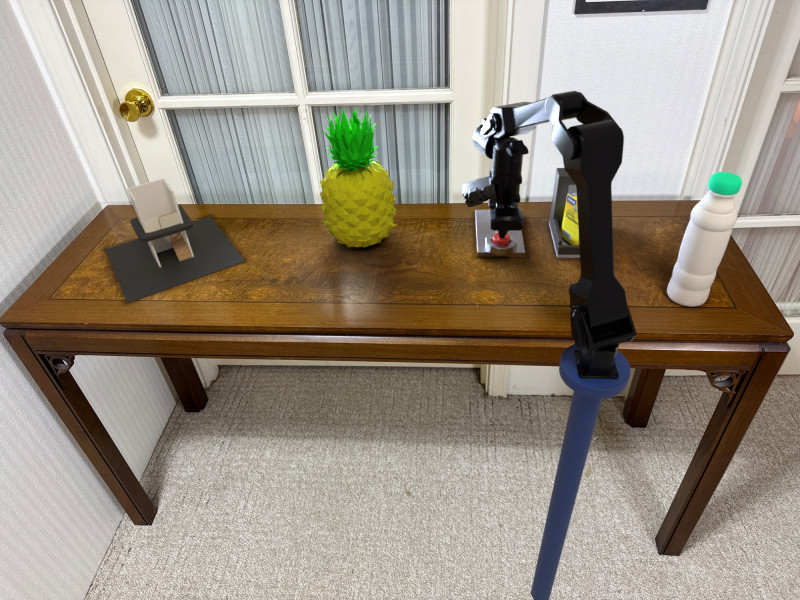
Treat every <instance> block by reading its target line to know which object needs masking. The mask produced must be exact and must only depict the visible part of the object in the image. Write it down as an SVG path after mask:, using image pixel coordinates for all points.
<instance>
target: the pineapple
mask: <svg viewBox="0 0 800 600" xmlns="http://www.w3.org/2000/svg"><path fill="white" fill-rule="evenodd" d="M331 112H332V114H333V116H334V120H333V119H332V118H331V117H330V115H327V117H328V118H329V119H328V118H326V120H327V121H328V124H329V127H328V126H326V125H324V124H323V126H324V127H325V128H326V129H327V131H328V132H326V131H324V130H322V132H323V133H324V136H325V137H326V139H327V140H328V142H329V143H328V146H329V147H328V146H326V149H327V150H328V152H329V153H330V154H329V153H326V152H325V154H326V156H328V157H329V158H331V159H332V160H333V161H330V163H331V164H333V165H332V166H330V167H329V168H328V167H327V169H326V170H325V173H324V177H323V178H322V180H319V185H320V187H321V192H320V193H319V196H320V197H321V200H322V203H320V209H321V210H322V212H323V214H324V216H325V218H324V219H323V220H322V223H323V224H324V225H325V226H326V227H327V228H328V229H329V231H327V233H328V234H329V235H331V236H332V237H334V238H335V239H336V240H335V241H336V242H337V243H339V244H340V245H341V244H342V245H346V247H347V248H354V247H355V248H361V247H362V248H367V247H369V246H371V247H373V246H374V245H375V244H380V243H382V240H383V239H385V238H387V237H389V236H390V233H389V232H390V231H391V229H393V228H394V227H396V226H397V224H396V223H394V217H395V215H396V212H397V209H396V208H395V202H396V201H397V200H396V199H397V197H396V196H395V195H394V194H393V191H394V187H395V182H394V181H393V180H392V179H391V178H390V175H389V171H388V170H387V169H385V168H384V167H383V166H382V164H381V163H380V161H379V160H376V159H375V158H377V157H378V152H376V150H377V149H378V147H379V145H376V146H375V144H374V136H375V131H376V129H377V128H378V127H376V125H377V123H374V124H373V126H372V120H371V116H372V114H370V115H369V117H368V110H366V111H365V112H364V115H363V119H362V121H361V120H360V118H359V115H358V112H357V107H356V106H355V108H354V110H352V111H351V113H352V117H349V118H348V117H347V115H346V113H345V109H344V108H342V109H341V111H338V117H337V115H336V113H335V112H333V111H331ZM375 127H376V128H375Z"/></svg>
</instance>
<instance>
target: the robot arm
mask: <svg viewBox="0 0 800 600" xmlns="http://www.w3.org/2000/svg"><path fill="white" fill-rule="evenodd" d="M572 119H576V121H577V122H578V123H580V124H577V125H572V126H569V127H567V125H565V123H564V122H563V121H567V120H572ZM547 123H550V124H551V125H552V129H551V141H552V143H553V144H554V146H555V148H556V149H557V150H558V152H559V154H560V155H561V156H562V162H563V163H562V164H563V168H564V169H565V171H566V172H567V173H568V175H569V176H570V178H571V179H572V180H573V182H574V183H575V184H576V189H577V209H578V228H579V247H580V258H579V263H580V264H579V265H580V276H579V278H578V280H577V282H574V283H571V284H569V287H568V294H569V305H568V308H569V309H570V310H569V317H570V332H571V338H573V340H574V344H573V345H575V346H576V347H578V348H581V349H575V350H573V355H574V359H575V364H576V368H577V373H578V376H579V378H590V379H618V378H619V374H618V370H617V367H616V364H615V359H616V355H617V351H618V352H619V347H620V344H623V343H627V342H632V341H634V339H636V337H637V335H638V333H637V329H636V326H635V323H634V320H633V317H632V313H631V311H630V307H629V304H628V300H627V292H626V288H624V286H623V284H621V282H620V281H619V279H618V278H617V277H616V274H615V253H614V222H613V220H614V219H613V194H612V193H613V192H612V191H613V189H612V185H613V181H614V180H615V177H616V175H617V173H618V171H619V169H620V167H621V166H622V164H623V156H624V145H625V136H624V131H623V128H621V127H620V125H619V124H618V123H617V122H616V120H615V118H613V117H612V115H611V114H610V112H609V111H607V110H605V109H603V108H602V107H600V106H598V105H596V104H595V103H592V102H591V101H589V100H588V99H587V97H586V96H585V95H584V94H583V93H582V92H581V91H577V90H570V91H565V92H557V93H553V94H552V95H550V96H549V97H546V98H543V99H539V100H536V101H533V102H531V101H519V102H513V103H509V104H502V105H498V106H497V105H496V106H493V107H492V108H491V110H490V114H489V115H488V116H487V117H484V118H482V119H481V124H480V125H478V126H477V128H476V129H475V130H474V132H473V135H472V137H471V138H472V143H473V145H474V147H475V148H477V150H478V151H480V152H481V153H482V154H483V155H484V156H485V157H487V158H488V159H489V160H492V165H491V166H492V167H491V169H490V170H489V174H488V176H485V177H479V178H476V179H473V180H470V181H467V182H465V183H464V184H462V186H461V187H462V188H461V189H462V190H461V191H462V197H463V198H464V203H465V204H466V206H467V207H468V208H472V207H473V208H474V207H476V206H479V205H483V204H484V203H485V202H488V208H489V209H488V210H489V214H490V227H491V229H492V230H494V231H498V234H499V238H504V237H505V236H506V234H507V233H508V231H522V230H524V225H525V219H524V213H523V211H522V210H521V209H520V208H519V204H520V203H521V194H520V192H521V185H522V184H523V176H522V175H523V174H522V171H523V161H524V155H525V156H526V155H528V154H529V152H530V151H529V148H528V147H527V145H526V144H525V143H524V141H523V139H520V140H519V139H518V138H516V136H517V137H518V136H522V135H528V134H529V133H530V132H532V131H534V130H535V129H536V128H537V126H538V125H543V124H547Z"/></svg>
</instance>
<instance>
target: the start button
mask: <svg viewBox="0 0 800 600" xmlns="http://www.w3.org/2000/svg"><path fill="white" fill-rule="evenodd" d="M493 243H494V244H496V245H499V246H504V245H508V244H510V236H509V235H508V234H506V236H505V237H504V238H499V234H498V233H496V234H494V235H493Z"/></svg>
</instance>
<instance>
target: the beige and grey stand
mask: <svg viewBox="0 0 800 600" xmlns="http://www.w3.org/2000/svg"><path fill="white" fill-rule="evenodd" d="M126 191H127V193H128V196H129V199H130V201H131V204H132V207H133V209H134V212H135V214H136V217H134V218H131V219H130V220H129V222H130V226H131V228H132V229H133V231H134V233H135V235H136V237H137V239H134V240H130V241H127V242H124V243H120V244H118V245H114V246H111V247H108V248H105V249H104V250H105V251H104V252H105V253H106V255H107V258H108V261H109V263H110V266H111V267H112V271H113V272H114V275H115V277H116V279H117V283H118V284H119V287H120V289H121V292H122V294H123V297H124V299H125V301H126V303H127V304H130V303H133V302H135V301H138V300H141V299H143V298H146V297H148V296H151V295H154V294H157V293H160V292H162V291H165V290H168V289H171V288H174V287H176V286H180V285H182V284H185V283H188V282H190V281H193V280H196V279H199V278H201V277H204V276H207V275H210V274H213V273H216V272H219V271H222V270H223V269H227V268H230V267H233V266H235V265H238V264H240V263H244V262H245V259H244V258H243V256H241V254H240V252H239V251H238V250H237V249H236V248H235V246H234V245H233V244H232V242H231V241H230V240H229V238H228V237H227V236H226V234H225V233H224V232H223V230H222V229H221V228H220V227H219V225H218V224H217V223H216V221H215V220H214V219H213V217H212V216H205V217H203V218H199V219H197V220H192V219H191V217H190V216H189V214H187V212H186V211H185V209H184V207H183V206H182V205H180V204H178V202H177V199H176V196H175V194H174V190H173V188H172V187H171V186H170V184H169V182H168V181H167V180H166V178H165V177H163V178H160V179H155V180H152V181H149V182H145V183H142V184H138V185H135V186H131V187H127V188H126Z"/></svg>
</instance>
